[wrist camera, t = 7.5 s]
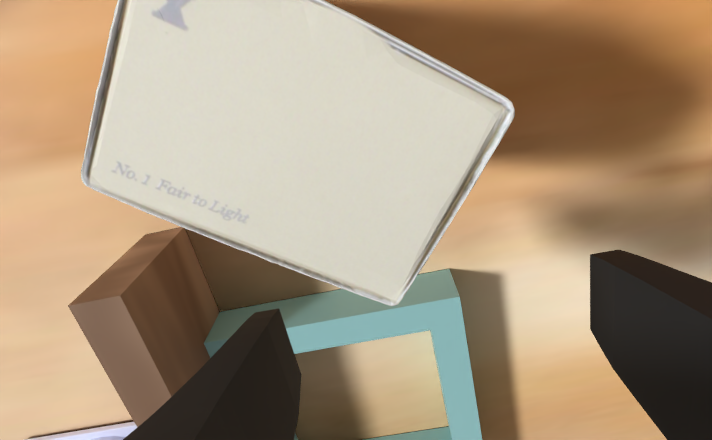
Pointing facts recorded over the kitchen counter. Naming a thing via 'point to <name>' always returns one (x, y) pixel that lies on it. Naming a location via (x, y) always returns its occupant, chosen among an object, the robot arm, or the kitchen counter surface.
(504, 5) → the kitchen counter surface
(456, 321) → the collar block
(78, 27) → the kitchen counter surface
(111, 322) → the backstop board
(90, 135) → the skincare box
